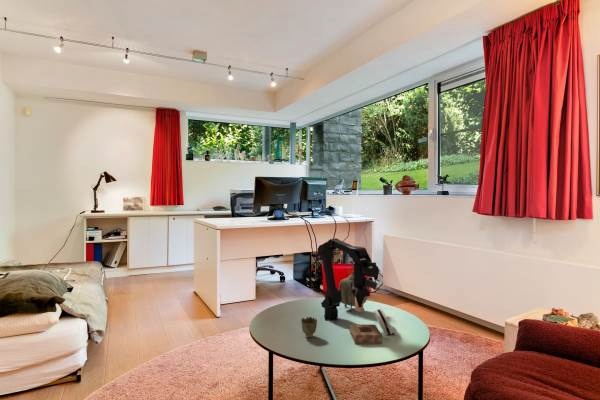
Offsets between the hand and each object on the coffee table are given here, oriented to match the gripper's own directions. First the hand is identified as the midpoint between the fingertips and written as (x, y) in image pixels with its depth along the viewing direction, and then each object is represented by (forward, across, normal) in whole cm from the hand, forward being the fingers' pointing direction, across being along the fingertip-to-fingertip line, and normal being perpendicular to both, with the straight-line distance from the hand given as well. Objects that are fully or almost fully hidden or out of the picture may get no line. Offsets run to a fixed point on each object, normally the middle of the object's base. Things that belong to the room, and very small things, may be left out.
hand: (359, 306), depth 166 cm
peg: (+2, 0, 0) cm, 2 cm away
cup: (+12, -5, +25) cm, 28 cm away
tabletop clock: (+12, +30, -3) cm, 32 cm away
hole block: (+13, -7, -1) cm, 15 cm away
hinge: (+13, +4, -13) cm, 19 cm away
